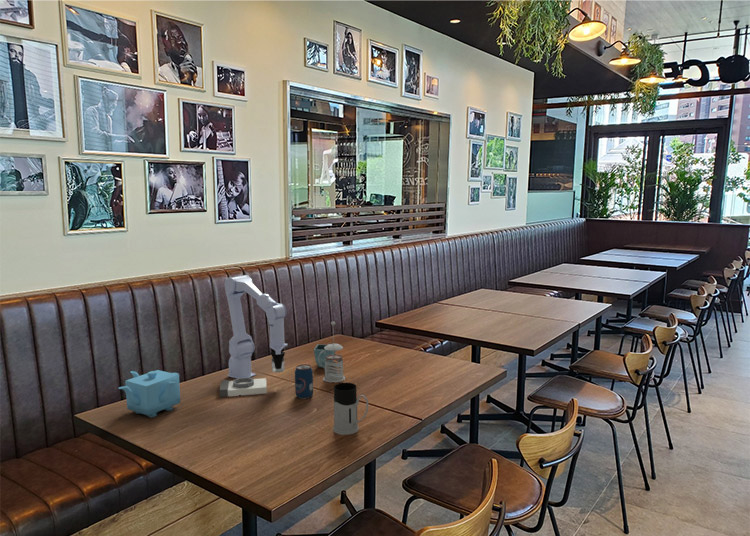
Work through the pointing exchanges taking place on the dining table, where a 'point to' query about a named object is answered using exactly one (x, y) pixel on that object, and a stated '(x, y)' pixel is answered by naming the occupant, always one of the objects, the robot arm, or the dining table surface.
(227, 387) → the camera body
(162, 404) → the teakettle
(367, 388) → the dining table surface
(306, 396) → the soda can
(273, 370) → the lens
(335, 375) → the french press
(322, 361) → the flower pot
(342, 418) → the grey and black mug
